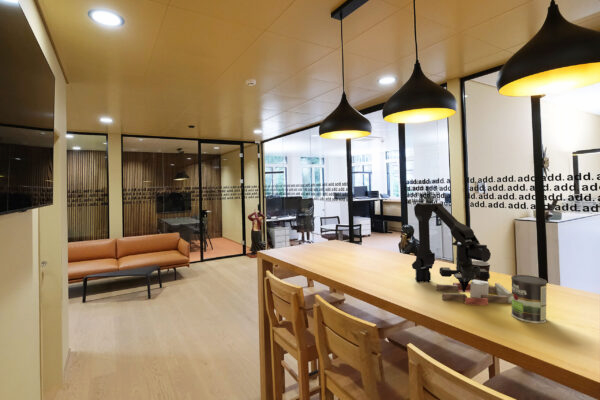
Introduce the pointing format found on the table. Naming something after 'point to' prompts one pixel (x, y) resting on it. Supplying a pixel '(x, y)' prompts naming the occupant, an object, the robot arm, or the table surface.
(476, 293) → the white cube
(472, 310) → the table surface
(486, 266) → the coffee mug
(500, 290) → the trap lane
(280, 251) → the table surface
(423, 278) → the robot arm
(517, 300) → the coffee can
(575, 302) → the table surface
